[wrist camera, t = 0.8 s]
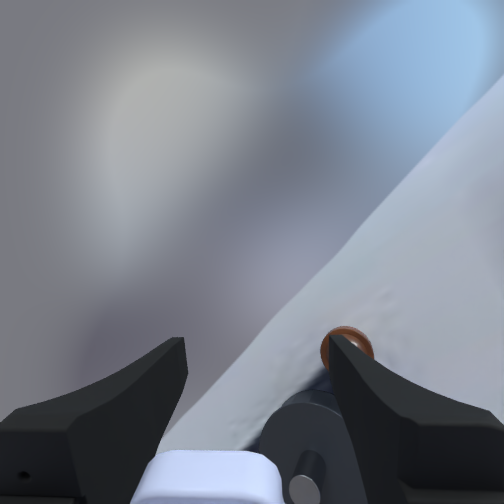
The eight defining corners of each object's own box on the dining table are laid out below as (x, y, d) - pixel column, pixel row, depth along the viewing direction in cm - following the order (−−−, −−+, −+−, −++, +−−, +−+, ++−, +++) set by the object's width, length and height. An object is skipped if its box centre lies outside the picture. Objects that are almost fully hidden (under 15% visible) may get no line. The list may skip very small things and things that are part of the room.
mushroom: (379, 365, 29) (382, 382, 24) (333, 372, 31) (326, 390, 25) (363, 319, 30) (364, 325, 25) (320, 328, 32) (311, 336, 27)
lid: (393, 524, 24) (400, 581, 19) (277, 522, 27) (259, 570, 23) (352, 391, 26) (350, 413, 22) (251, 405, 30) (231, 426, 25)
